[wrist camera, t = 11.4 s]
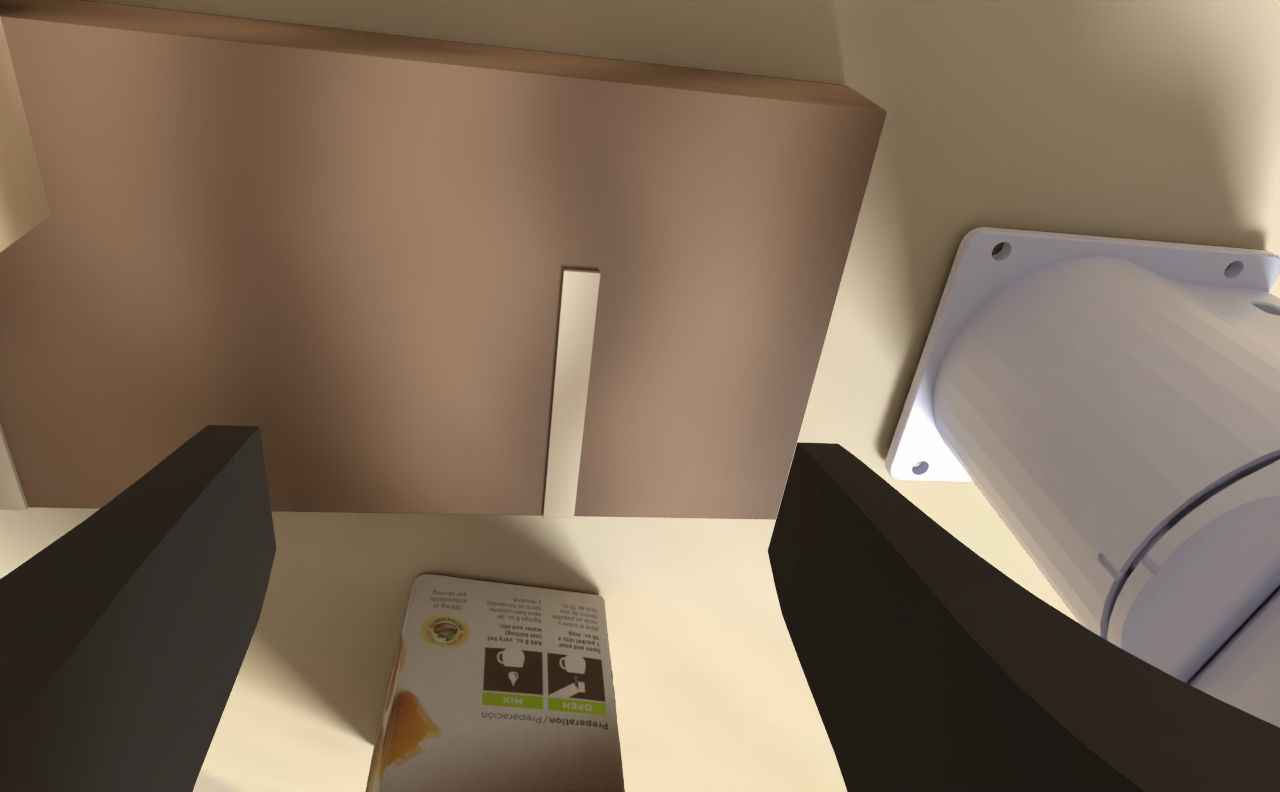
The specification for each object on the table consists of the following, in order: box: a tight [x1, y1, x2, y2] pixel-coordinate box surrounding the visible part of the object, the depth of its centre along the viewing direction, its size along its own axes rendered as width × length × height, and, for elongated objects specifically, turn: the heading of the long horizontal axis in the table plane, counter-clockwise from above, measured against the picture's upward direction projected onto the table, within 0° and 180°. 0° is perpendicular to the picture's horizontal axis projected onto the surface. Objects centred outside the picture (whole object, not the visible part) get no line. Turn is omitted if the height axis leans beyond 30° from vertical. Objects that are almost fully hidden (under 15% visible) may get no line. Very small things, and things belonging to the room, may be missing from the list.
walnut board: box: [0, 0, 887, 519], centre depth 19 cm, size 24×11×3 cm, turn 83°
